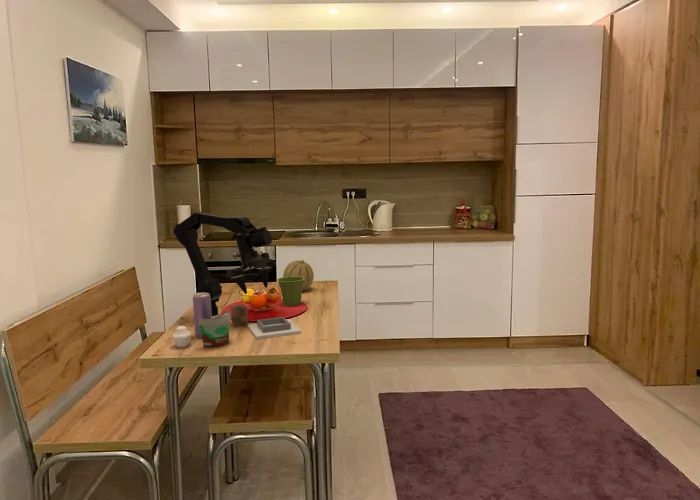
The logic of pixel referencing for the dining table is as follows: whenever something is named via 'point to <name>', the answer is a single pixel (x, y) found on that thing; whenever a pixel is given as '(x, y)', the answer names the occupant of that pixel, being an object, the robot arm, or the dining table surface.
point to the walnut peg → (239, 315)
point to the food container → (215, 330)
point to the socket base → (273, 328)
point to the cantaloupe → (300, 272)
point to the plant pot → (291, 289)
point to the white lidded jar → (181, 336)
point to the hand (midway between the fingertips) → (256, 290)
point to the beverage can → (201, 310)
